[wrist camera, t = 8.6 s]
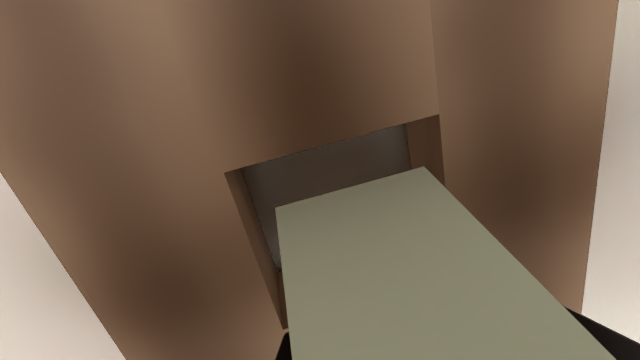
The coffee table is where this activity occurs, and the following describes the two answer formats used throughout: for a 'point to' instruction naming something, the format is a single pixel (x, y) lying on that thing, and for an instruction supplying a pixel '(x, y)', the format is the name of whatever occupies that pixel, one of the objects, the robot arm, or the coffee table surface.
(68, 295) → the coffee table surface
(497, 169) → the walnut well block
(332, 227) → the sage peg
